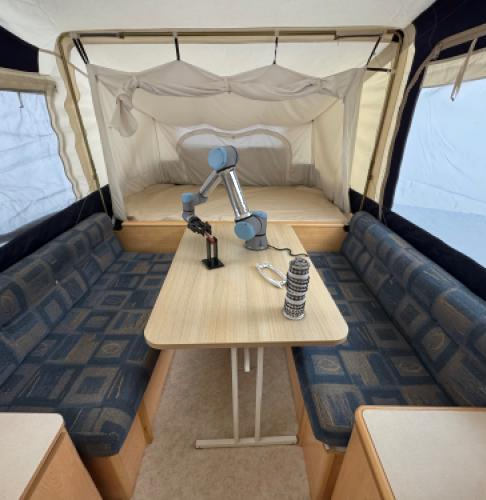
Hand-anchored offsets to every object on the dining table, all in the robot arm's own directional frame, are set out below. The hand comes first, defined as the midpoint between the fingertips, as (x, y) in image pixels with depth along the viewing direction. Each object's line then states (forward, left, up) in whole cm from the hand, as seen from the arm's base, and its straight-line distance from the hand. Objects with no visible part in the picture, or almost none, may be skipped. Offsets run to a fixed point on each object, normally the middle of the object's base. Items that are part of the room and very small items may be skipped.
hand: (207, 233), depth 149 cm
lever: (0, 0, -3) cm, 3 cm away
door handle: (-39, -3, -16) cm, 43 cm away
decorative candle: (-60, +20, -16) cm, 66 cm away
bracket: (-5, +3, -16) cm, 17 cm away
